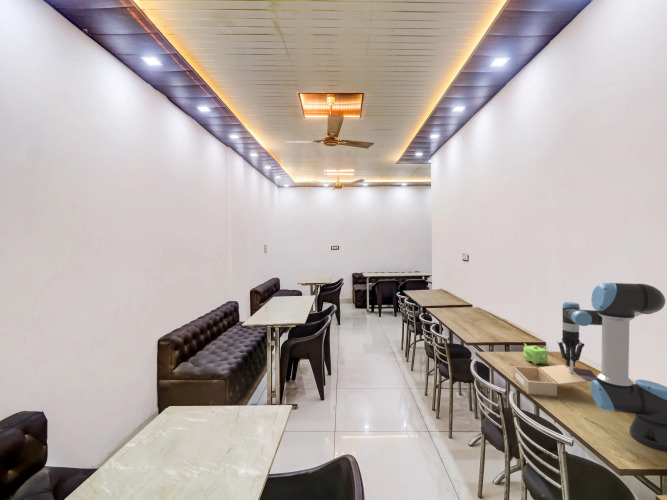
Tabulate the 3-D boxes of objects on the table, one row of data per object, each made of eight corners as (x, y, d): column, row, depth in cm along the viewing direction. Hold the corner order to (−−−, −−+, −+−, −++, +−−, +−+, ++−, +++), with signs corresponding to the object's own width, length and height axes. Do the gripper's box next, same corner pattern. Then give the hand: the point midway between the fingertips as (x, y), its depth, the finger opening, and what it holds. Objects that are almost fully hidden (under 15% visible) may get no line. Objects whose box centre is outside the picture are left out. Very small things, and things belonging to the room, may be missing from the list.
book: (553, 369, 207) (553, 364, 207) (590, 374, 199) (590, 368, 199) (557, 376, 196) (557, 371, 196) (596, 382, 187) (596, 376, 187)
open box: (557, 396, 169) (557, 383, 169) (528, 394, 172) (528, 381, 171) (538, 379, 191) (538, 367, 191) (512, 377, 193) (512, 366, 193)
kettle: (523, 357, 228) (523, 341, 228) (547, 360, 221) (547, 344, 220) (522, 363, 216) (522, 347, 215) (548, 368, 208) (548, 350, 208)
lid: (558, 383, 168) (559, 385, 168) (586, 381, 166) (587, 382, 166) (538, 367, 191) (539, 368, 191) (563, 364, 189) (563, 366, 189)
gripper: (579, 328, 180) (579, 370, 180) (554, 327, 182) (554, 368, 183) (587, 332, 172) (587, 375, 173) (561, 331, 175) (561, 374, 175)
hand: (570, 372), depth 178 cm, fingers closed
